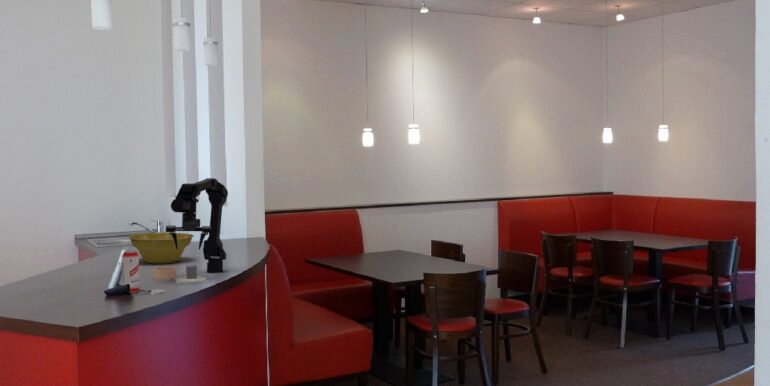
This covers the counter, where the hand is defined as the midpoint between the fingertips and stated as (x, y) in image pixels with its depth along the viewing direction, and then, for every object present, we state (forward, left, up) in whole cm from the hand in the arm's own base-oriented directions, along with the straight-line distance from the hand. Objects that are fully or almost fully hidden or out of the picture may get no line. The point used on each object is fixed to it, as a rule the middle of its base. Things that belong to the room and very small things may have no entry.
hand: (188, 249), depth 309 cm
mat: (-1, +1, -14) cm, 14 cm away
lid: (-1, +1, -13) cm, 13 cm away
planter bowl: (+6, -66, -14) cm, 68 cm away
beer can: (+24, +19, -14) cm, 33 cm away
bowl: (+9, -10, -14) cm, 19 cm away
